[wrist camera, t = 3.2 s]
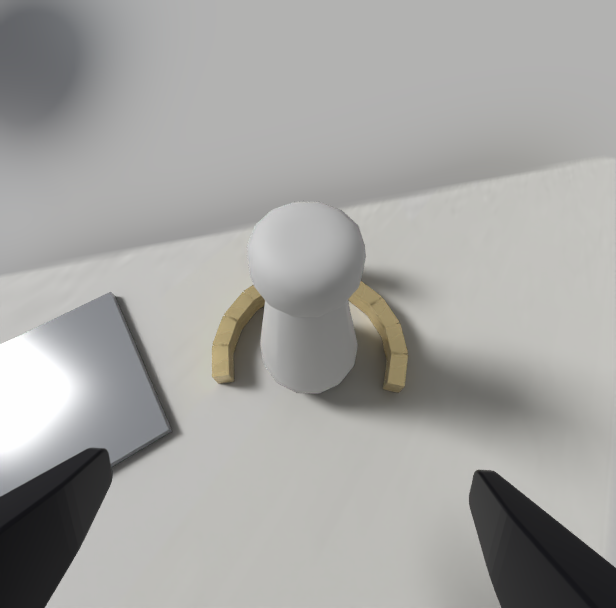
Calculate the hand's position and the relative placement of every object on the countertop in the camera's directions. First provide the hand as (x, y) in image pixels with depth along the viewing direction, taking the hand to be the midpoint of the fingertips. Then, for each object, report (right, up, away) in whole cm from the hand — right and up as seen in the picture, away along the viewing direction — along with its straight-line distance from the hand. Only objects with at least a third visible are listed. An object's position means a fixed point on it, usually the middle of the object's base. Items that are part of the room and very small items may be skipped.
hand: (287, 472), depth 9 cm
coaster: (-15, -2, +14) cm, 21 cm away
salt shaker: (+1, 0, +15) cm, 15 cm away
